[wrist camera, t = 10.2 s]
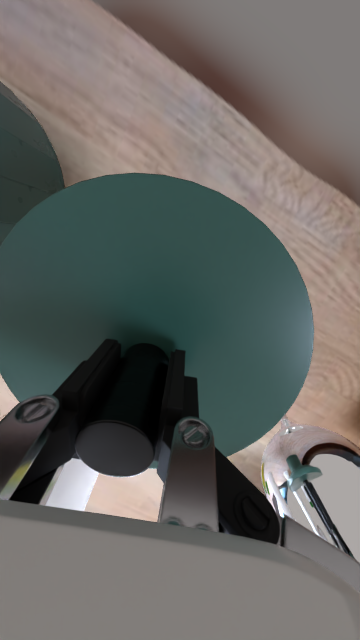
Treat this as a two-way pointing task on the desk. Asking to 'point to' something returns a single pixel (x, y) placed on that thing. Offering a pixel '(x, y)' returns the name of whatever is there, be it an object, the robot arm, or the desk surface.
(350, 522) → the wineglass
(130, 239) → the lid
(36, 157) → the pot
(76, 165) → the desk surface
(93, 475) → the can
